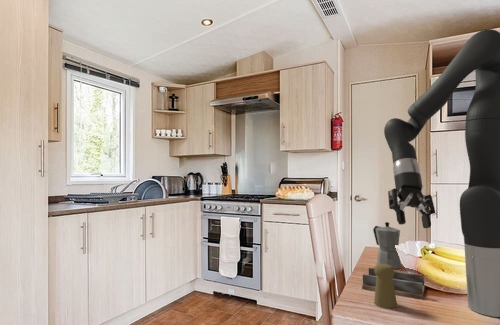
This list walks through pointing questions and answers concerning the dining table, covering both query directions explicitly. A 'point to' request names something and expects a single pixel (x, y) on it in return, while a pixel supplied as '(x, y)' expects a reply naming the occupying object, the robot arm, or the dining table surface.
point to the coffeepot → (387, 245)
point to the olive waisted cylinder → (385, 287)
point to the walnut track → (398, 283)
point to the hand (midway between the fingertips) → (414, 225)
